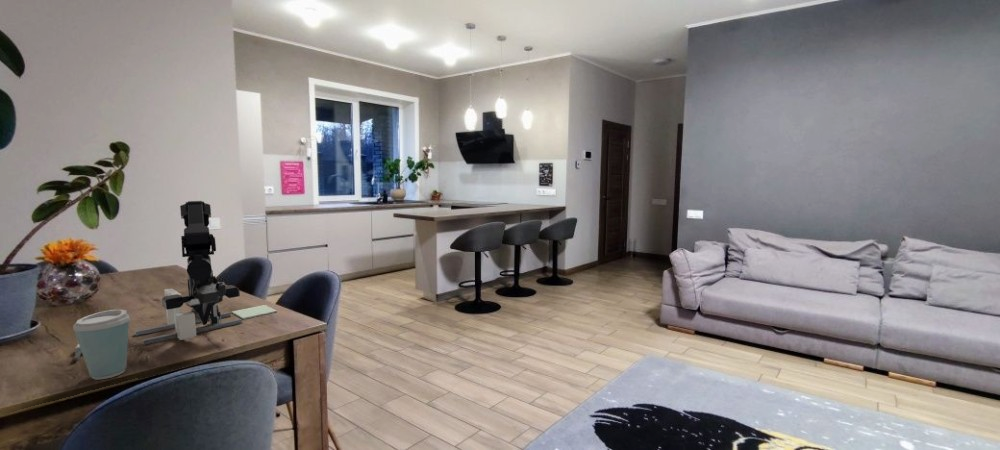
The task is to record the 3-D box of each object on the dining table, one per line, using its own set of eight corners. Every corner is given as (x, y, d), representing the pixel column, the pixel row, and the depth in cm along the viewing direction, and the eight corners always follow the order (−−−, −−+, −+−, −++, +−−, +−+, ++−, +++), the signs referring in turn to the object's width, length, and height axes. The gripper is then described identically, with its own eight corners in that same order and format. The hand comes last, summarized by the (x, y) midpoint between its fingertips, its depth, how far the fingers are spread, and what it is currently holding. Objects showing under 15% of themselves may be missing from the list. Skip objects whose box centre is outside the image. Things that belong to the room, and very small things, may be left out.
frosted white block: (163, 324, 145) (160, 290, 143) (178, 321, 147) (175, 287, 146) (180, 340, 131) (176, 301, 130) (196, 336, 134) (193, 299, 133)
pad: (232, 312, 162) (232, 311, 162) (264, 306, 170) (264, 304, 170) (243, 319, 154) (243, 318, 154) (276, 312, 162) (276, 310, 162)
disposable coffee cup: (104, 385, 106) (97, 323, 104) (66, 382, 108) (58, 320, 106) (146, 366, 117) (140, 309, 115) (111, 364, 118) (105, 307, 117)
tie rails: (135, 334, 140) (134, 331, 140) (229, 315, 159) (229, 311, 159) (143, 345, 132) (143, 341, 131) (242, 322, 150) (242, 319, 150)
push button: (205, 322, 151) (202, 292, 150) (223, 319, 155) (221, 290, 154) (206, 327, 146) (204, 297, 145) (226, 324, 149) (223, 294, 148)
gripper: (168, 283, 123) (174, 339, 124) (244, 271, 136) (248, 322, 138) (159, 277, 130) (164, 330, 132) (231, 267, 144) (235, 315, 145)
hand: (204, 324), depth 137 cm, fingers closed
